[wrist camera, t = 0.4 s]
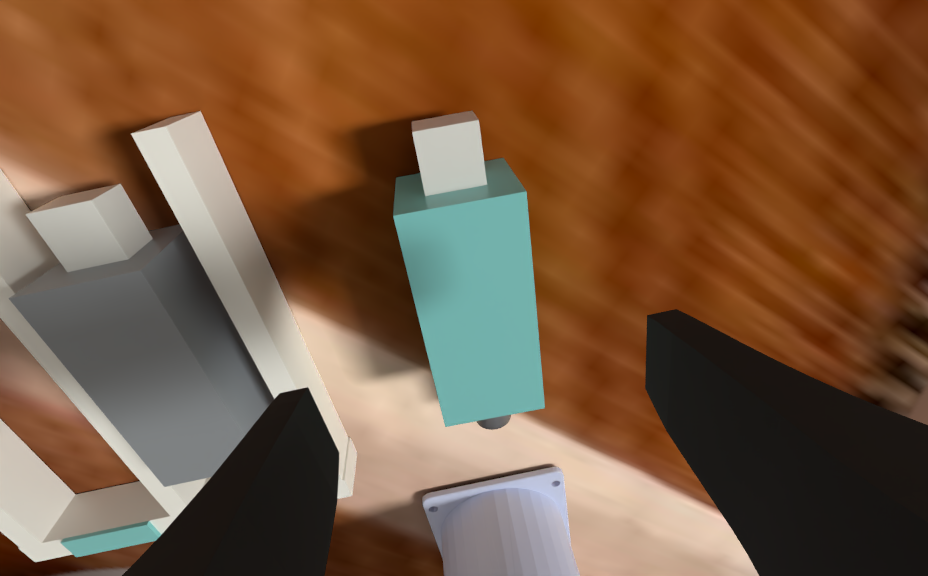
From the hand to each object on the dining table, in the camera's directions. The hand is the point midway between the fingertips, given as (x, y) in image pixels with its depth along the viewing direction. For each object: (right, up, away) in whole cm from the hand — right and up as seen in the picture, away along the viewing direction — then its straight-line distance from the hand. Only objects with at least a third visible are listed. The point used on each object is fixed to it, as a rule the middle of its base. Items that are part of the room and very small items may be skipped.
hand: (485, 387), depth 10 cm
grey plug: (-12, 0, +10) cm, 15 cm away
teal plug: (0, +3, +10) cm, 10 cm away
